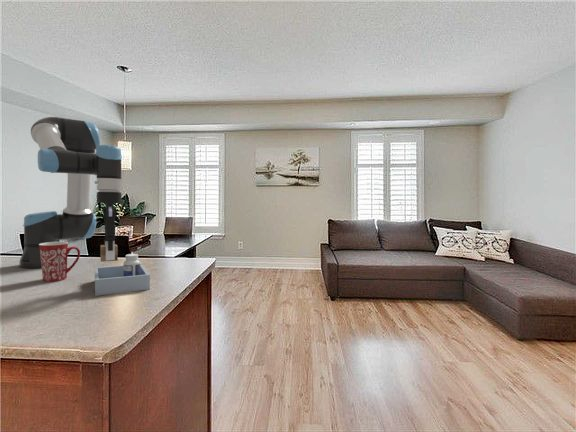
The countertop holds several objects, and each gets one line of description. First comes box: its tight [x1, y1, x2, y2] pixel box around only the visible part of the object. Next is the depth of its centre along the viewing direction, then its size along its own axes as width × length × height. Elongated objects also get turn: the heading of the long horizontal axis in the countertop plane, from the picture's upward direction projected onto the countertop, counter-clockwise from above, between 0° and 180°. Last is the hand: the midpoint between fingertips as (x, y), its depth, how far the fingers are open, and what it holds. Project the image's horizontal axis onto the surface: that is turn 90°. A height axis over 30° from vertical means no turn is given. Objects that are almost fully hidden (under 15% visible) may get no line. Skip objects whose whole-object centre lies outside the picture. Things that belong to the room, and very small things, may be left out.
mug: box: [39, 241, 81, 283], centre depth 124 cm, size 13×9×14 cm
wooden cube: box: [100, 243, 119, 262], centre depth 115 cm, size 5×5×5 cm
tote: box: [94, 263, 151, 296], centre depth 118 cm, size 20×16×5 cm
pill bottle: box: [122, 253, 141, 277], centre depth 119 cm, size 5×5×10 cm
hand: (109, 258), depth 115 cm, fingers closed on wooden cube, 5 cm apart
